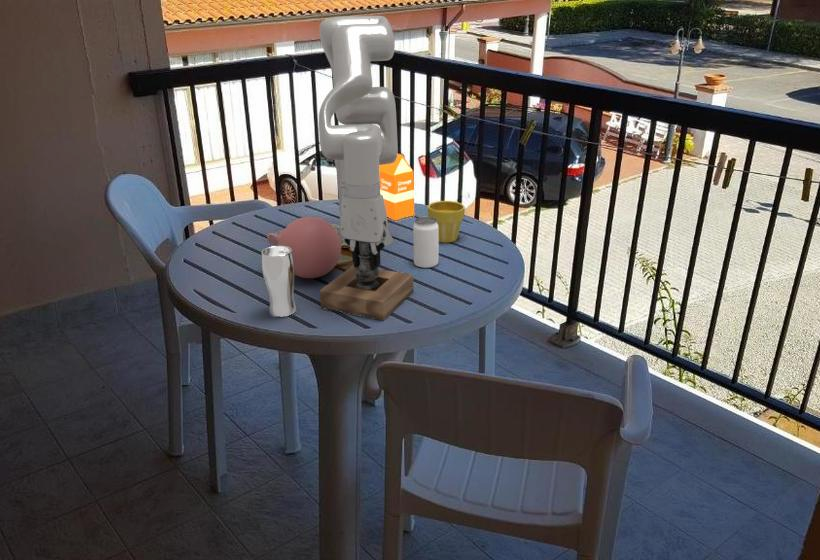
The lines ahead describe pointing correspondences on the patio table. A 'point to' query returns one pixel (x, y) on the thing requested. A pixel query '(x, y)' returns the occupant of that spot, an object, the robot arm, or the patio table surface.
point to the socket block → (367, 294)
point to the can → (426, 242)
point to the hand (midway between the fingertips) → (366, 266)
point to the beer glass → (279, 279)
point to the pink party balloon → (310, 245)
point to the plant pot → (447, 218)
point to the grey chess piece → (366, 268)
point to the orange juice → (397, 188)
